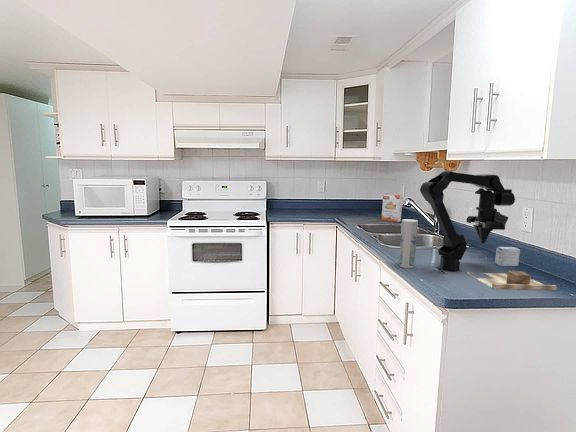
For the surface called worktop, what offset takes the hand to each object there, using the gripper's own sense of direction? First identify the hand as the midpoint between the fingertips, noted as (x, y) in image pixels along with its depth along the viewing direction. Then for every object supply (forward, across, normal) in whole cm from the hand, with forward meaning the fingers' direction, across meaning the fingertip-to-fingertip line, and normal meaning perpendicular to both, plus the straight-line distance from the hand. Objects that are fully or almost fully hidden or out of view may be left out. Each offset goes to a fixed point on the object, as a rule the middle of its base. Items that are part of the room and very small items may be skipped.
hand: (482, 243), depth 151 cm
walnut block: (+11, -21, -2) cm, 24 cm away
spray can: (+12, +5, +29) cm, 32 cm away
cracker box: (+12, +140, -4) cm, 141 cm away
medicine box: (+12, +8, -16) cm, 22 cm away
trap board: (+12, -16, -2) cm, 20 cm away
